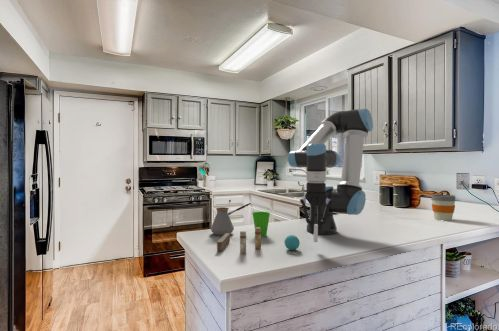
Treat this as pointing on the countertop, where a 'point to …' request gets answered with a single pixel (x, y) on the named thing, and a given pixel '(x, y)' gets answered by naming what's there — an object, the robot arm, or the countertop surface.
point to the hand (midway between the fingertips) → (315, 241)
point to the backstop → (223, 242)
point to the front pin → (257, 238)
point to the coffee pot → (223, 221)
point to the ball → (292, 242)
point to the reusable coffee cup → (443, 206)
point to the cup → (261, 221)
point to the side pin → (242, 242)
